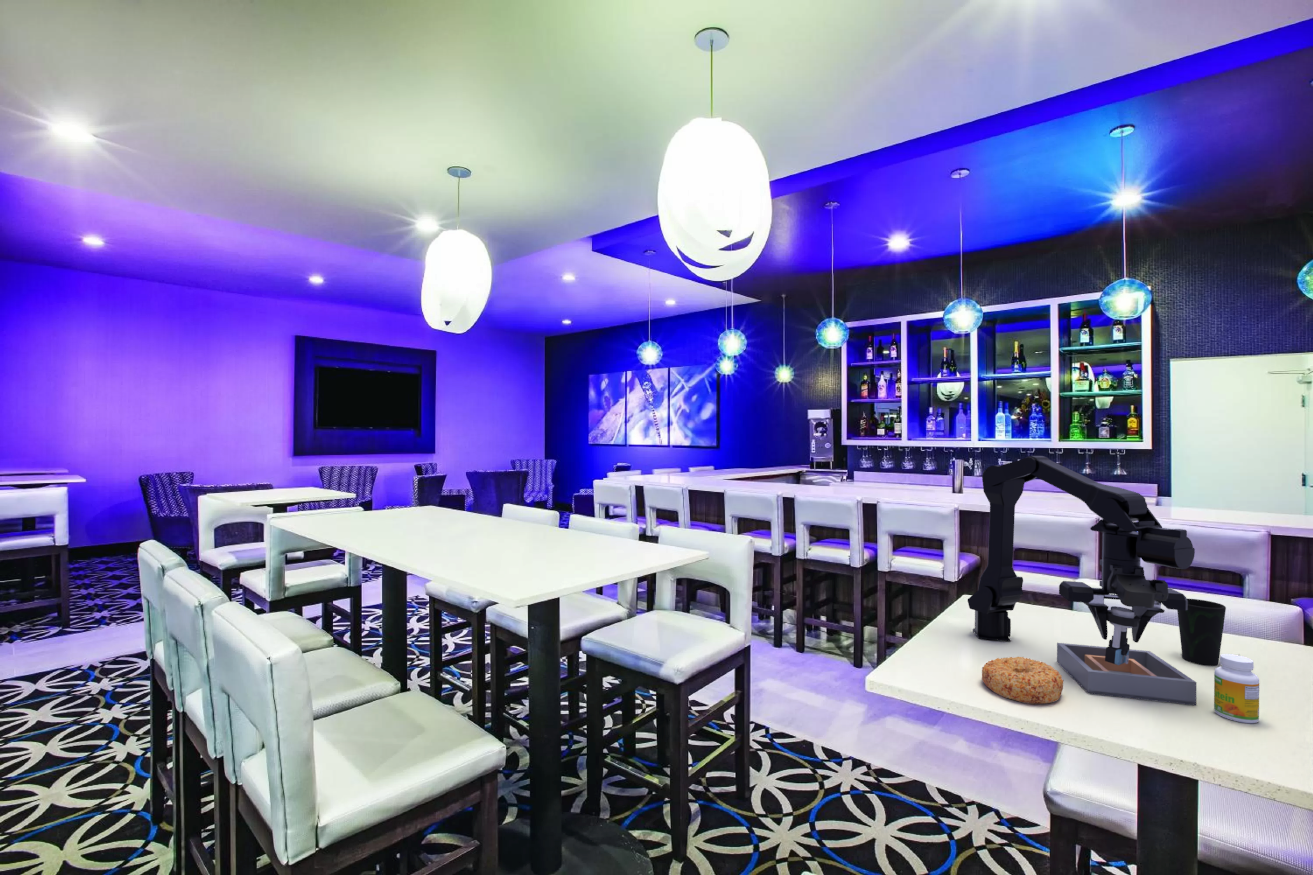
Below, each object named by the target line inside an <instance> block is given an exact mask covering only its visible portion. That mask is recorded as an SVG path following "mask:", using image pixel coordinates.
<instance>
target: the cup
mask: <svg viewBox="0 0 1313 875" xmlns="http://www.w3.org/2000/svg"><path fill="white" fill-rule="evenodd" d="M1187 601H1188V610H1186V611H1185V610H1176V611H1177V620H1178V630H1179V638H1180V647H1181V655H1182V660H1185V661H1187V662H1189V663H1190V664H1191V663H1192V664H1196V665H1201V666H1206V667H1207V666H1208V667H1218V666H1219V664H1220V655H1221V650H1222V648H1221V647H1222V640H1223V632H1224V624H1225V618H1226V610H1227V607H1226V606H1225V605H1224V604H1221V603H1218V602H1214V601H1210V600H1204V599H1197V598H1187Z"/></svg>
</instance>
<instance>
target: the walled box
mask: <svg viewBox="0 0 1313 875" xmlns="http://www.w3.org/2000/svg"><path fill="white" fill-rule="evenodd" d="M1106 647H1107V646H1098V645H1085V644H1076V643H1067V642H1066V643H1064V642H1057V643H1056V663H1057V664H1058V665H1059V666H1060V667H1061V668H1062V669H1063V670H1064V671H1065V672H1066V673H1067V674H1068V675H1069V676H1070V677H1071V678H1072V679H1073V680H1074V681H1075V682H1076V683H1077V684H1078V685H1079V686H1080V687H1081V688H1082V689H1083V690H1084V691H1085V692H1086V693H1087V694H1088V695H1097V696H1098V695H1099V696H1108V697H1115V698H1124V699H1125V698H1126V699H1135V700H1144V701H1152V702H1162V703H1171V704H1177V705H1178V704H1179V705H1180V704H1181V705H1189V706H1197V682H1196V681H1195V680H1193V679H1192V678H1191V677H1189V676H1188V675H1187V674H1185V673H1183V672H1182V671H1181V670H1179V669H1177V668H1176V667H1175V666H1174V665H1172V664H1170V663H1168V662H1167V661H1165V660H1164V659H1162V658H1161V657H1159V656H1158V655H1156V654H1155V653H1153V652H1152V651H1150V650H1142V649H1130V648H1129V661H1128V664H1126V662H1125V663H1123V664H1120V665H1116V664H1113V663H1110V662H1107V661H1105V653H1106Z"/></svg>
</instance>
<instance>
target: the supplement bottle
mask: <svg viewBox="0 0 1313 875" xmlns="http://www.w3.org/2000/svg"><path fill="white" fill-rule="evenodd" d="M1219 664H1220V665H1221V666H1216V667H1215V669H1214V672H1213V676H1214V677H1213V678H1214V680H1213V682H1214V683H1213V684H1214V687H1213V689H1214V690H1213V710H1214V713H1215V714H1217V715H1218V716H1221V717H1222V718H1225V719H1227V720H1231V721H1234V722H1237V723H1242V724H1256V723H1258V722H1259V721H1260V678H1259V677H1258V675H1257V674H1255V673H1254V672H1252V671H1253V670H1254V668H1255V666H1254V660H1253V659H1251V658H1249V657H1246V656H1243V655H1240V654H1239V655H1237V654H1232V653H1220V656H1219Z"/></svg>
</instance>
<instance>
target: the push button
mask: <svg viewBox="0 0 1313 875" xmlns="http://www.w3.org/2000/svg"><path fill="white" fill-rule="evenodd" d="M1134 613H1135V611H1133V610H1132V609H1130V608H1126V607H1122V606H1110V609H1108V610H1107V612H1106V617H1107V622H1109V624H1111V625H1112V626H1113V635H1111V639H1109V641H1108V646H1105V647H1106V653H1105V661H1107V662H1110V663H1113V664H1116V665H1120V664H1123V663H1125V662H1126V664H1128V661H1129V649H1130V645H1131V644H1130V643H1128V637H1127V636H1128V629H1132V628H1133V627H1137V623H1138V621H1140V617H1138V616H1136V615H1134Z"/></svg>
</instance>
